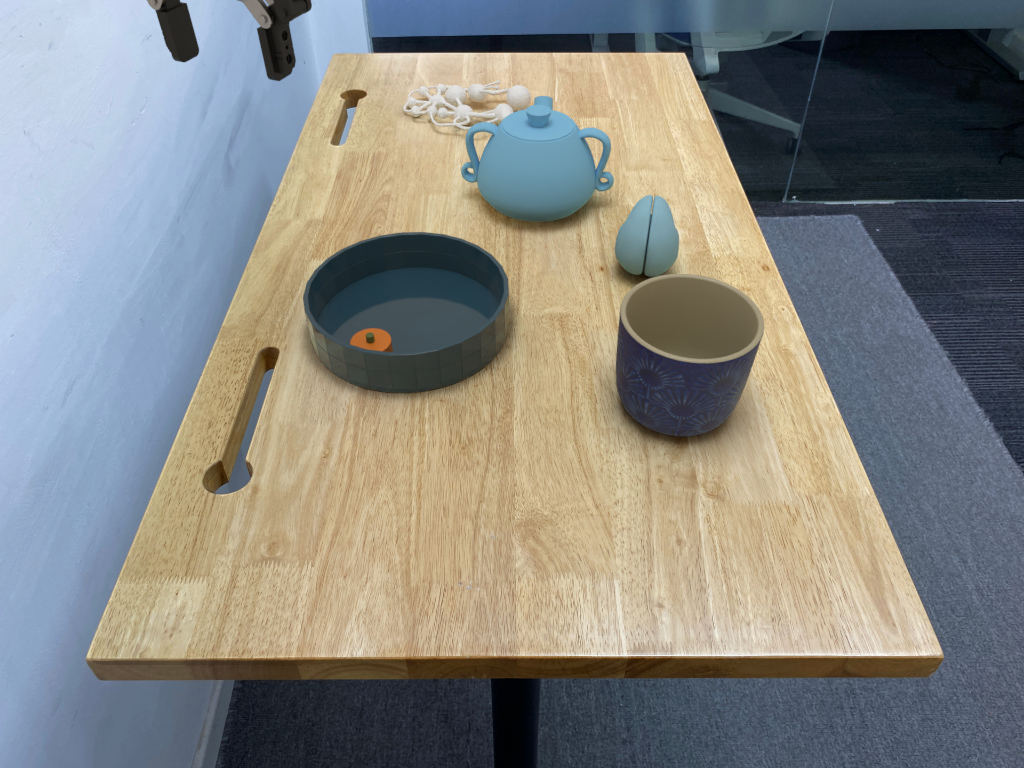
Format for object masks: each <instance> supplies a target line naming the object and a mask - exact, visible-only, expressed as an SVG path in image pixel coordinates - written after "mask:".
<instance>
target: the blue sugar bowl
mask: <svg viewBox="0 0 1024 768" xmlns="http://www.w3.org/2000/svg"><path fill="white" fill-rule="evenodd" d="M533 99H534V100H533V104H532V105H528V107H527V108H526V109H524V110H520V111H516V110H515V111H514V113H511V114H510V115H508V116H507V117H505V118H504V119H503V120H502V122H501V123H500V124H499V125H498V124H496V123H489V122H487V121H480V122H477V123H475V124H473V125H472V126H470V127H471V128H470V129H469V130H467V132H466V133H465V141H464V143H465V149H466V152H467V155H468V158H469V161H467V162H464V164H463V165H462V166H461V170H460V175H461V177H462V179H463V180H465V181H466V182H468V183H471V184H475V183H477V189H478V191H479V193H480V195H481V197H482V198H483V200H485V201H486V202H487V204H489V205H490V206H491V207H492V208H493V209H494V210H495V211H496V212H498V213H500V214H501V215H503V216H505V217H508V218H510V219H514V220H517V221H522V222H523V221H524V222H531V223H544V222H553V221H558V220H562V219H564V218H567V217H569V216H571V215H574V214H575V213H576V212H577V211H579V210H580V209H582V207H584V206H585V205H586V204H587V203H588V202H589V201H590V199H592V197H593V195H594V193H595V191H598V192H607V191H609V190H610V189H612V187H613V186H614V182H615V178H614V176H613V174H612V173H611V172H609V171H604V170H605V168H606V166H607V163H608V161H609V158H610V156H611V151H612V143H611V139H610V137H609V135H608V134H607V133H606V132H605V131H603V130H601V129H599V128H596V127H585V128H581V129H580V128H579V126H578V125H577V123H576V122H575V121H574V120H573V118H572V117H570V116H569V115H568V114H566V113H564V112H561V111H558V110H554V98H553V97H551V96H548V95H539V96H536V97H534V98H533ZM478 133H488V134H491V136H490V137H489V139H488V141H487V142H486V145H485V146H484V148H483V151H482V153H481V157H480V159H479V155H478V153H477V150H476V149H477V148H476V146H475V140H474V137H475V134H478ZM589 138H591V139H595V140H598V141H600V142H601V144H602V152H601V156H600V159H599V162H598V164H597V166H596V163H595V160H594V156H593V153H592V150H591V148H590V146H589V143H588V141H587V139H589ZM468 169H471V170H473V173H472V172H470V171H469V170H468ZM601 179H606V181H605V182H604V181H601Z"/></svg>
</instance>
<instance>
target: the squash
mask: <svg viewBox="0 0 1024 768" xmlns="http://www.w3.org/2000/svg"><path fill="white" fill-rule="evenodd" d="M350 345H354V346H357V347H360V348H364V349H368V350H376V351H384V352H393V348H392V341H391V337H390V335H389V334H388V333H387V332H386V331H384V330H382V329H377V328H369V329H364V330H361V331H359V332H357V333H356V334H355V335H354V336H353V337H352V338H351V341H350Z"/></svg>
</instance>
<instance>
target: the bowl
mask: <svg viewBox="0 0 1024 768" xmlns="http://www.w3.org/2000/svg"><path fill="white" fill-rule="evenodd" d="M302 295H303V296H302V303H303V311H304V313H305V319H306V324H307V327H308V331H309V336H310V341H311V345H312V347H313V349H314V352H315V354H316V356H317V358H318V360H319V361H320V362H321V363H322V365H323V366H324V367H325V368H326V369H327V370H328V371H330V372H331V373H332V374H333V375H334V376H336V377H337V378H340V379H341V380H342V381H345V382H347V383H349V384H351V385H354V386H356V387H360V388H362V389H365V390H370V391H375V392H380V393H391V394H412V393H422V392H428V391H434V390H439V389H442V388H446V387H448V386H451V385H454V384H457V383H459V382H462V381H464V380H466V379H468V378H470V377H472V376H474V375H475V374H477V373H479V372H480V371H482V370H483V369H484V368H485V367H486V366H487V365H489V364H490V363H491V362H492V361H493V360H494V359H495V358H496V357H497V355H498V354H499V353H500V352H501V349H502V348H503V347H504V344H505V342H506V340H507V338H508V337H507V336H508V332H509V326H510V289H509V278H508V275H507V273H506V271H505V269H504V267H503V265H502V263H500V261H498V260H497V259H496V258H495V256H494V255H493V254H491V253H490V252H489V251H487V250H485V248H482V247H481V246H480V245H478V244H475V243H473V242H470V241H468V240H466V239H464V238H460V237H457V236H453V235H448V234H444V233H437V232H436V233H435V232H428V231H427V232H426V231H407V232H406V231H405V232H403V231H402V232H395V233H388V234H381V235H377V236H373V237H369V238H366V239H361V240H360V241H358V242H355V243H353V244H350V245H348V246H345V247H343V248H341V249H340V250H338V251H336V252H335V253H334V254H332V255H330V256H328V257H327V258H326V259H325V260H324V261H323V262H321V263H320V264H319V265H318V266H317V267H316V269H314V270H313V272H312V274H311V275H310V277H309V279H308V280H307V282H306V283H305V287H304V291H303V294H302ZM369 328H377V329H382V330H384V331H386V332H387V333H388V334H389V335H390V337H391V341H392V348H393V352H384V351H376V350H368V349H364V348H360V347H357V346H354V345H350V341H351V338H352V337H353V336H354V335H355V334H356V333H357V332H359V331H361V330H364V329H369Z"/></svg>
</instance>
